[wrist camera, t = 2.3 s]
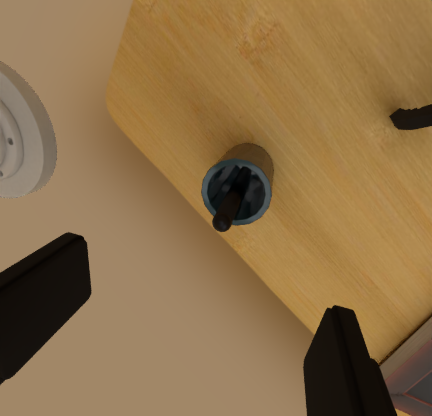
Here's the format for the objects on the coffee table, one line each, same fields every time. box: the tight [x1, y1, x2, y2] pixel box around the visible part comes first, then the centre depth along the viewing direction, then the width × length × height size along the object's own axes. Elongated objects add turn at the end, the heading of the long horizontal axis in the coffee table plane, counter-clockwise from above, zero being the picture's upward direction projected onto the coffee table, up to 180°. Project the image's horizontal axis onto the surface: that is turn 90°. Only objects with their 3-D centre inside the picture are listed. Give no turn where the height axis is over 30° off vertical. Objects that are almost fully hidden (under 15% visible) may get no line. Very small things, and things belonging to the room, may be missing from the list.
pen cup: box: [201, 143, 274, 225], centre depth 24 cm, size 6×6×8 cm
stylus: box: [212, 167, 251, 232], centre depth 21 cm, size 1×1×13 cm
